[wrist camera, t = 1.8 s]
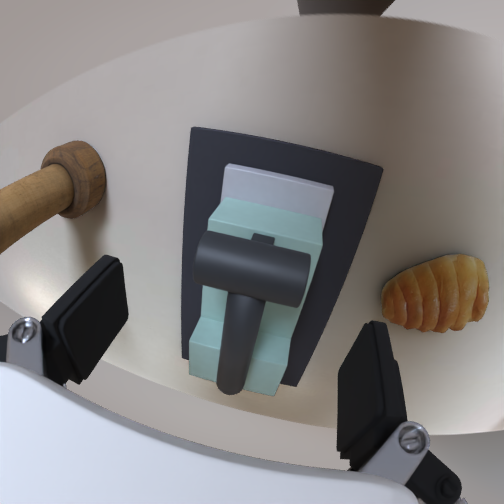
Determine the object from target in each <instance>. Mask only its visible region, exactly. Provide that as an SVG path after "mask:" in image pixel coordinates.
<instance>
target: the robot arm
mask: <svg viewBox="0 0 504 504" xmlns="http://www.w3.org/2000/svg"><path fill="white" fill-rule="evenodd" d="M128 315H129V313H128V306H127V298H126V290H125V282H124V273H123V265H122V263H120V260H119V259H118V258H116V257H112V256H109V255H104V256H103V257H101V258H100V259H99V260H98V261H97V262H96V263H95V264H94V265H93V266H92V267H91V268H90V269H89V270H88V271H87V272H86V273H84V274H83V275H82V276H81V277H80V278H79V279H78V280H77V281H76V282H75V283H74V284H73V285H72V286H71V287H70V288H69V289H68V290H67V291H66V292H65V293H64V294H63V295H62V296H61V297H60V298H59V299H58V300H57V301H56V302H55V303H54V305H53V306H52V307H51V308H50V309H49V310H48V311H47V312H46V313H45V314H44V315H43V316H42V320H41V321H40V322H39V321H38V320H36V319H35V318H32V317H24V318H20V319H19V320H17V321H15V322H14V323H13V324H12V326H11V327H10V329H9V332H8V334H7V335H3V336H0V504H468V503H467V501H466V500H465V498H463V499H461V498H460V495H461V490H462V486H461V482H460V479H459V478H458V476H457V475H456V474H455V473H454V472H452V471H451V470H450V469H449V468H448V467H447V466H446V465H445V464H443V463H442V462H441V461H440V460H439V459H438V458H437V457H436V456H435V455H433V454H432V453H431V452H430V451H429V450H428V449H429V446H430V438H429V434H428V432H427V430H426V429H425V428H424V427H423V426H422V425H420V424H419V423H417V422H413V421H407V413H406V406H405V400H404V394H403V388H402V382H401V377H400V371H399V366H398V363H397V361H396V360H394V357H393V352H392V347H391V342H390V338H389V333H388V329H387V325H386V323H383V322H378V321H373V320H372V321H370V322H369V324H367V323H365V324H364V326H363V327H362V329H361V331H360V333H359V335H358V337H357V339H356V340H355V342H354V344H353V346H352V348H351V349H350V351H349V353H348V355H347V356H346V358H345V360H344V362H343V363H342V365H341V367H340V369H339V371H338V416H337V451H339V452H341V453H340V459H350V466H351V468H349V469H348V470H347V471H345V470H336V469H325V468H317V467H309V466H301V465H295V464H288V463H282V462H275V461H270V460H265V459H259V458H254V457H250V456H245V455H240V454H236V453H232V452H228V451H224V450H220V449H216V448H212V447H208V446H205V445H202V444H198V443H195V442H192V441H189V440H185V439H182V438H179V437H176V436H173V435H170V434H167V433H165V432H161V431H159V430H156V429H154V428H151V427H148V426H146V425H143V424H141V423H138V422H136V421H133V420H131V419H128V418H126V417H124V416H121V415H119V414H117V413H115V412H112V411H110V410H108V409H106V408H103V407H102V406H99V405H97V404H95V403H93V402H91V401H89V400H87V399H85V398H83V397H81V396H79V395H77V394H75V393H73V392H72V391H70V390H68V389H67V388H66V382H67V381H68V379H69V380H71V381H73V382H75V383H77V384H80V383H81V382H82V380H83V379H84V380H86V379H87V378H88V376H89V375H90V374H91V372H92V371H93V369H94V368H95V366H96V365H97V363H98V362H99V360H100V359H101V357H102V356H103V354H104V353H105V351H106V350H107V349H108V347H109V346H110V344H111V343H112V341H113V340H114V338H115V337H116V336H117V334H118V333H119V331H120V330H121V329H122V327H123V326H124V324H125V323H126V321H127V319H128Z"/></svg>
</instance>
